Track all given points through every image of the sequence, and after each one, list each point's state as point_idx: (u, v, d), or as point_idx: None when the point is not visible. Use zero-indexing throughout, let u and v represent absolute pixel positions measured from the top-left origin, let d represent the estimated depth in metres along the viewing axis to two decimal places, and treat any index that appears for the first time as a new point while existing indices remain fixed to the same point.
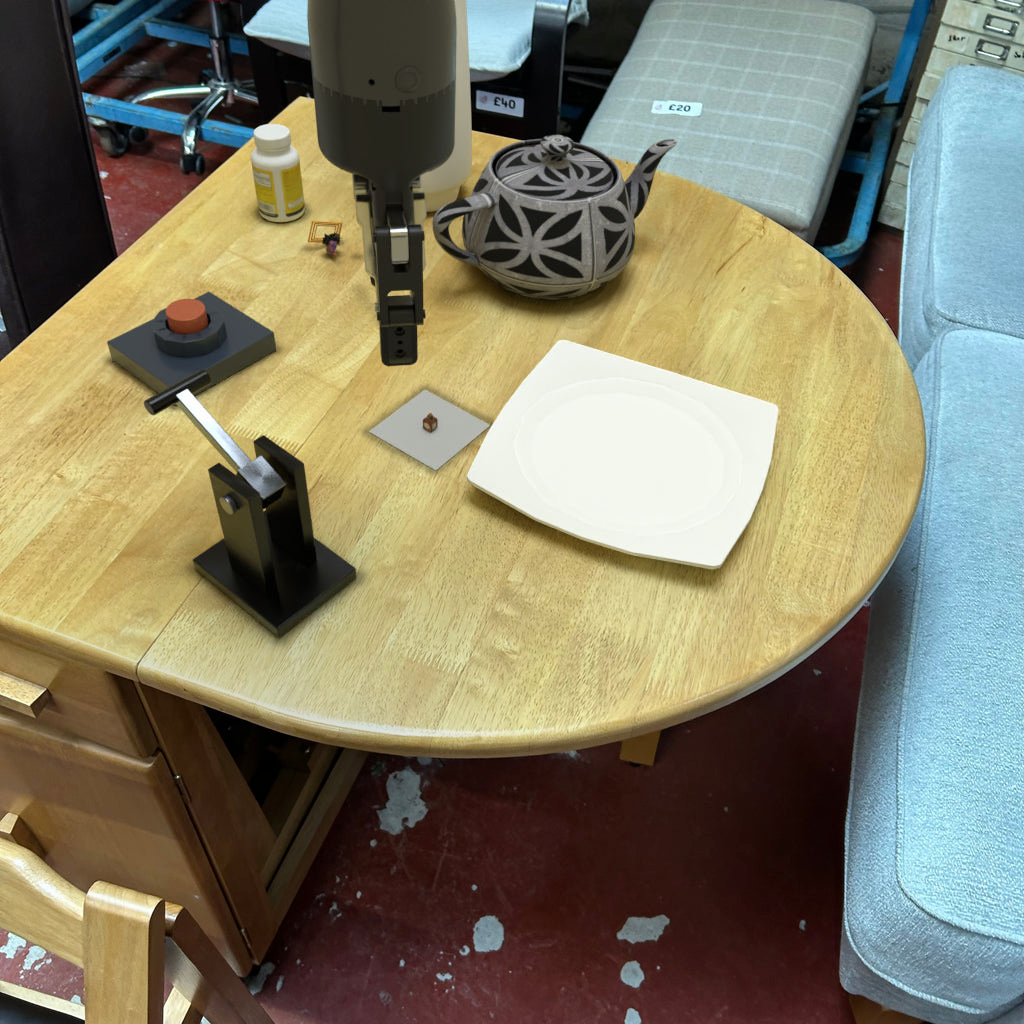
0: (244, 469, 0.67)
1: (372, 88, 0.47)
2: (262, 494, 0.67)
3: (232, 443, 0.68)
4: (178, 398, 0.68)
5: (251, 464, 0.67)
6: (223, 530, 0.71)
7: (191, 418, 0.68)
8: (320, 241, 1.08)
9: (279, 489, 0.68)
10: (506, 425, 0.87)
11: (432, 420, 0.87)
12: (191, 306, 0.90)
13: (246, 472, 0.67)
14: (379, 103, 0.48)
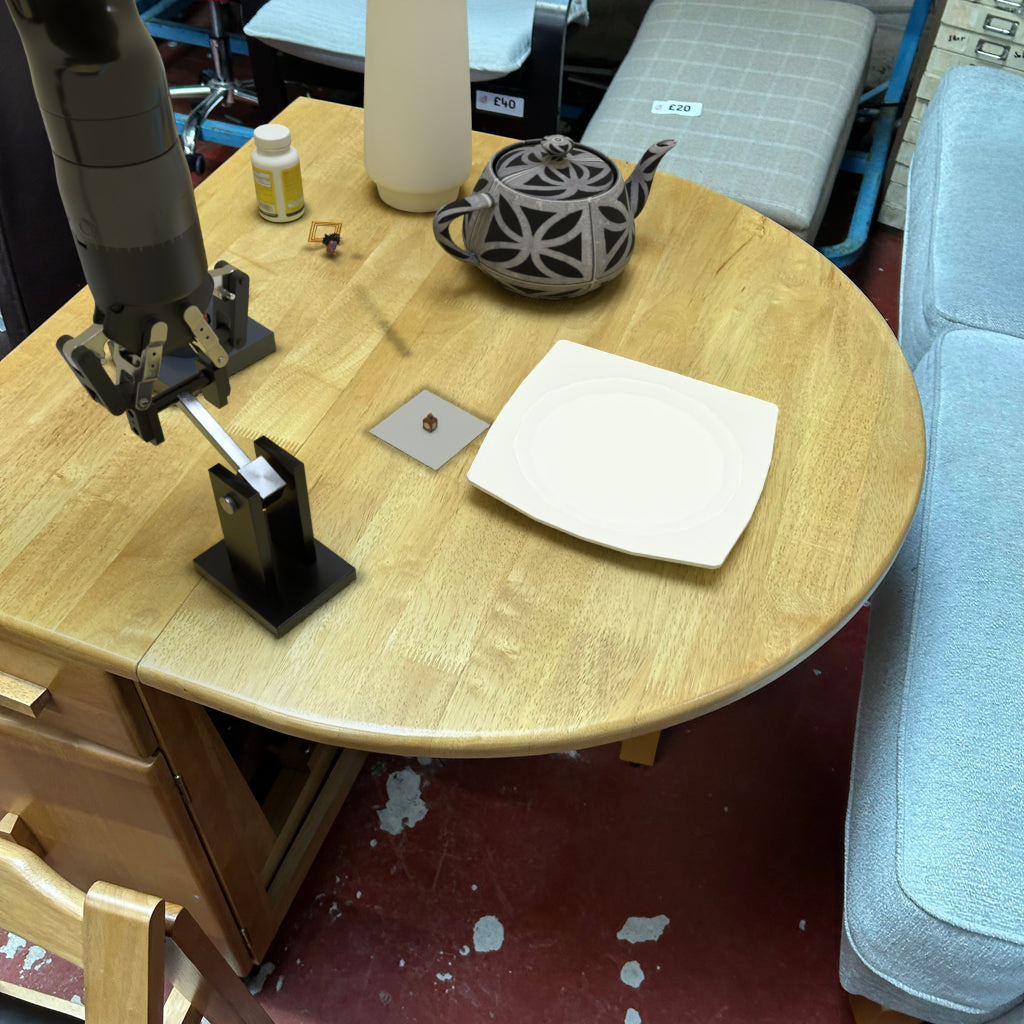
0: (244, 469, 0.67)
1: (70, 223, 0.57)
2: (262, 494, 0.67)
3: (232, 443, 0.68)
4: (178, 398, 0.68)
5: (251, 464, 0.67)
6: (223, 530, 0.71)
7: (191, 418, 0.68)
8: (320, 241, 1.08)
9: (279, 489, 0.68)
10: (506, 425, 0.87)
11: (432, 420, 0.87)
12: None
13: (246, 472, 0.67)
14: (75, 236, 0.57)
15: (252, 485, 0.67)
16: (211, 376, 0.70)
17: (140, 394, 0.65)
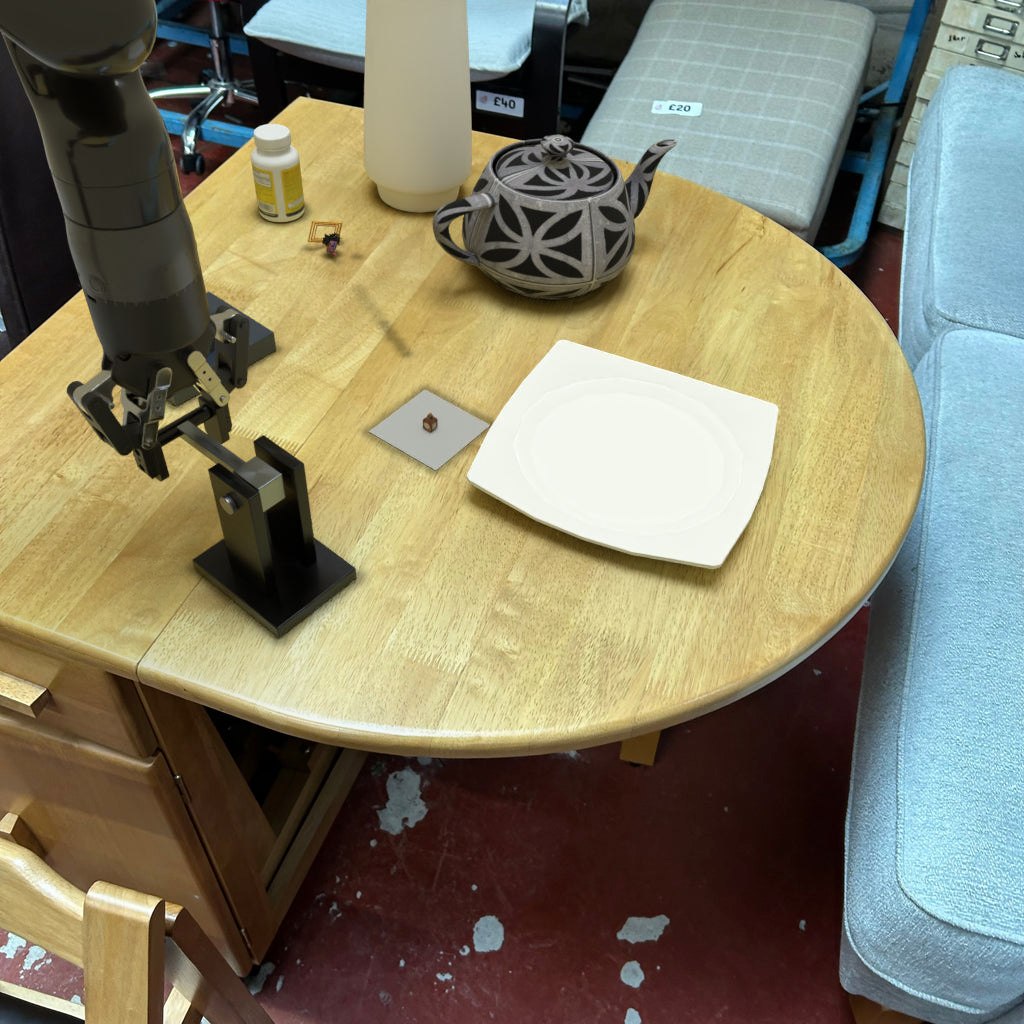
0: (239, 469, 0.67)
1: (80, 278, 0.60)
2: (257, 485, 0.66)
3: (230, 454, 0.69)
4: (179, 429, 0.71)
5: (246, 464, 0.68)
6: (223, 530, 0.71)
7: (193, 444, 0.71)
8: (320, 241, 1.08)
9: (275, 480, 0.67)
10: (506, 425, 0.87)
11: (432, 420, 0.87)
12: None
13: (241, 471, 0.67)
14: (85, 290, 0.60)
15: (247, 480, 0.67)
16: (213, 414, 0.73)
17: (146, 434, 0.68)
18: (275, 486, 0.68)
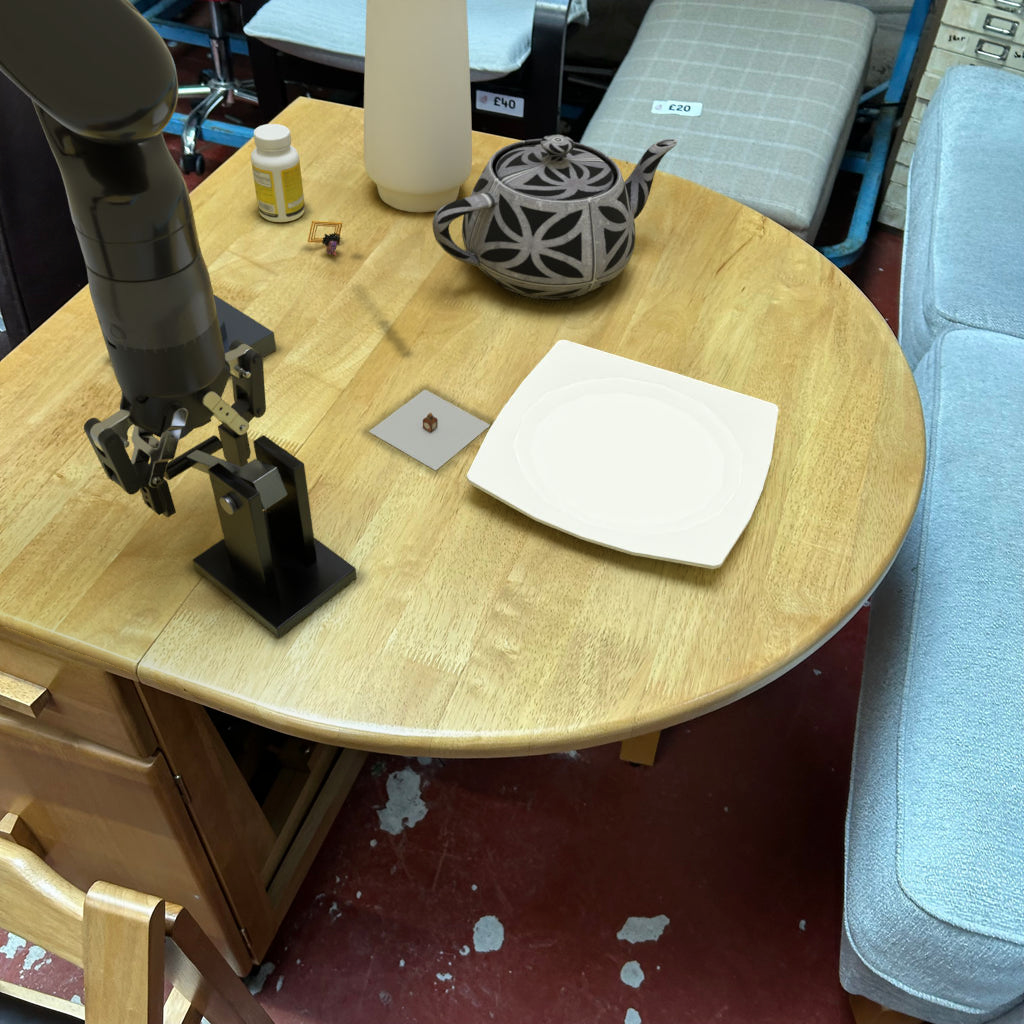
0: (237, 471, 0.68)
1: (101, 325, 0.62)
2: (253, 479, 0.66)
3: (233, 465, 0.70)
4: (188, 457, 0.73)
5: (244, 466, 0.68)
6: (223, 530, 0.71)
7: (201, 467, 0.72)
8: (320, 241, 1.08)
9: (271, 474, 0.67)
10: (506, 425, 0.87)
11: (432, 420, 0.87)
12: None
13: (239, 472, 0.68)
14: (105, 337, 0.62)
15: (244, 477, 0.67)
16: (233, 442, 0.75)
17: (153, 473, 0.69)
18: (272, 480, 0.67)
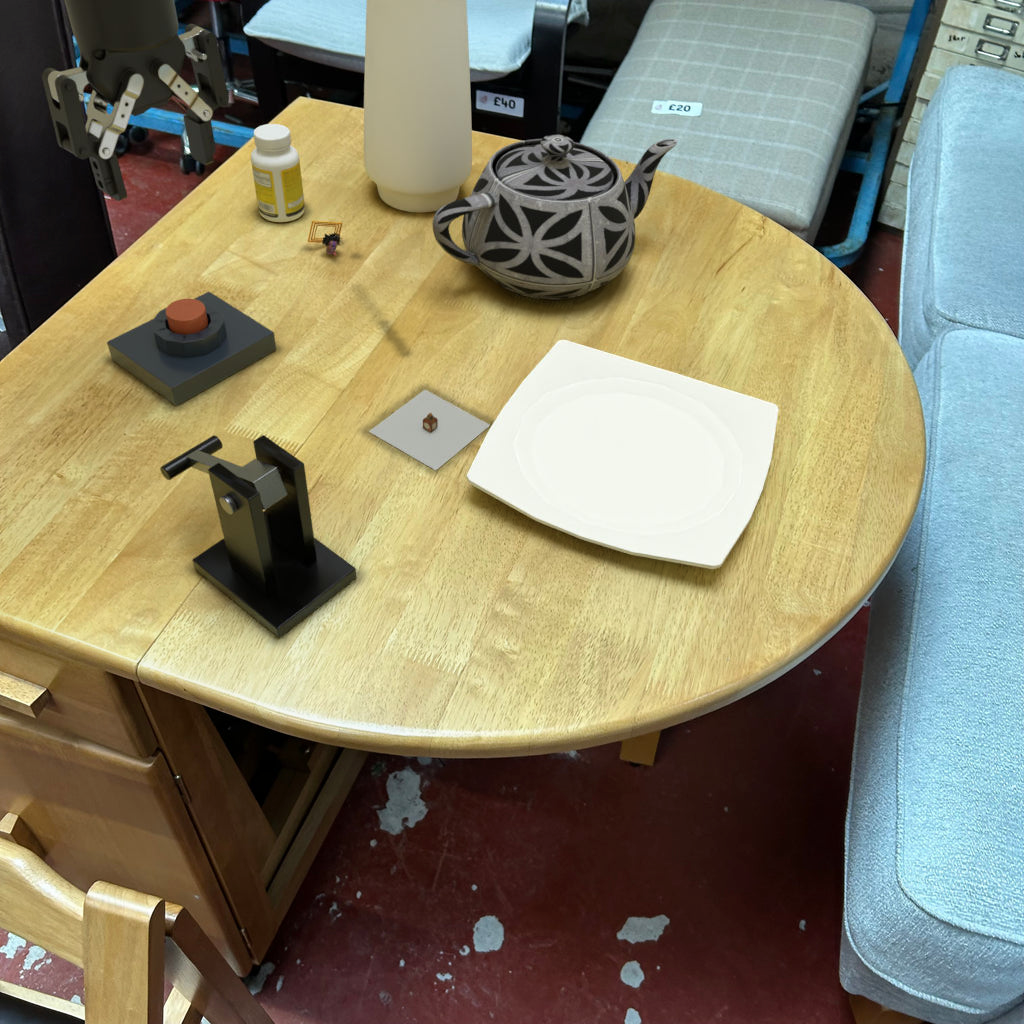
0: (237, 471, 0.68)
1: None
2: (253, 479, 0.66)
3: (233, 465, 0.70)
4: (188, 457, 0.73)
5: (244, 466, 0.68)
6: (223, 530, 0.71)
7: (201, 467, 0.72)
8: (320, 241, 1.08)
9: (271, 474, 0.67)
10: (506, 425, 0.87)
11: (432, 420, 0.87)
12: (191, 306, 0.90)
13: (239, 472, 0.68)
14: None
15: (244, 477, 0.67)
16: (197, 130, 0.79)
17: (102, 142, 0.73)
18: (272, 480, 0.67)
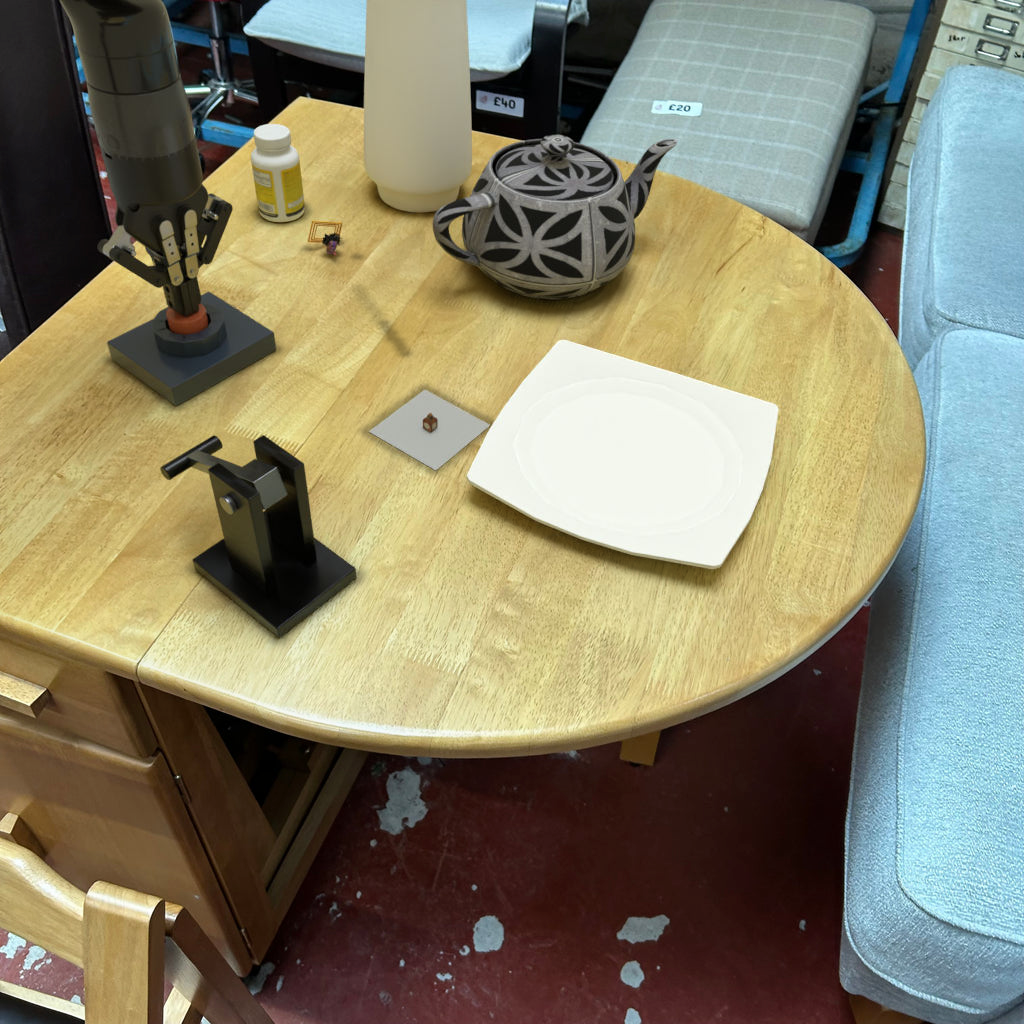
0: (237, 471, 0.68)
1: (99, 139, 0.76)
2: (253, 479, 0.66)
3: (233, 465, 0.70)
4: (188, 457, 0.73)
5: (244, 466, 0.68)
6: (223, 530, 0.71)
7: (201, 467, 0.72)
8: (320, 241, 1.08)
9: (271, 474, 0.67)
10: (506, 425, 0.87)
11: (432, 420, 0.87)
12: None
13: (239, 472, 0.68)
14: (103, 150, 0.76)
15: (244, 477, 0.67)
16: None
17: (175, 272, 0.85)
18: (272, 480, 0.67)
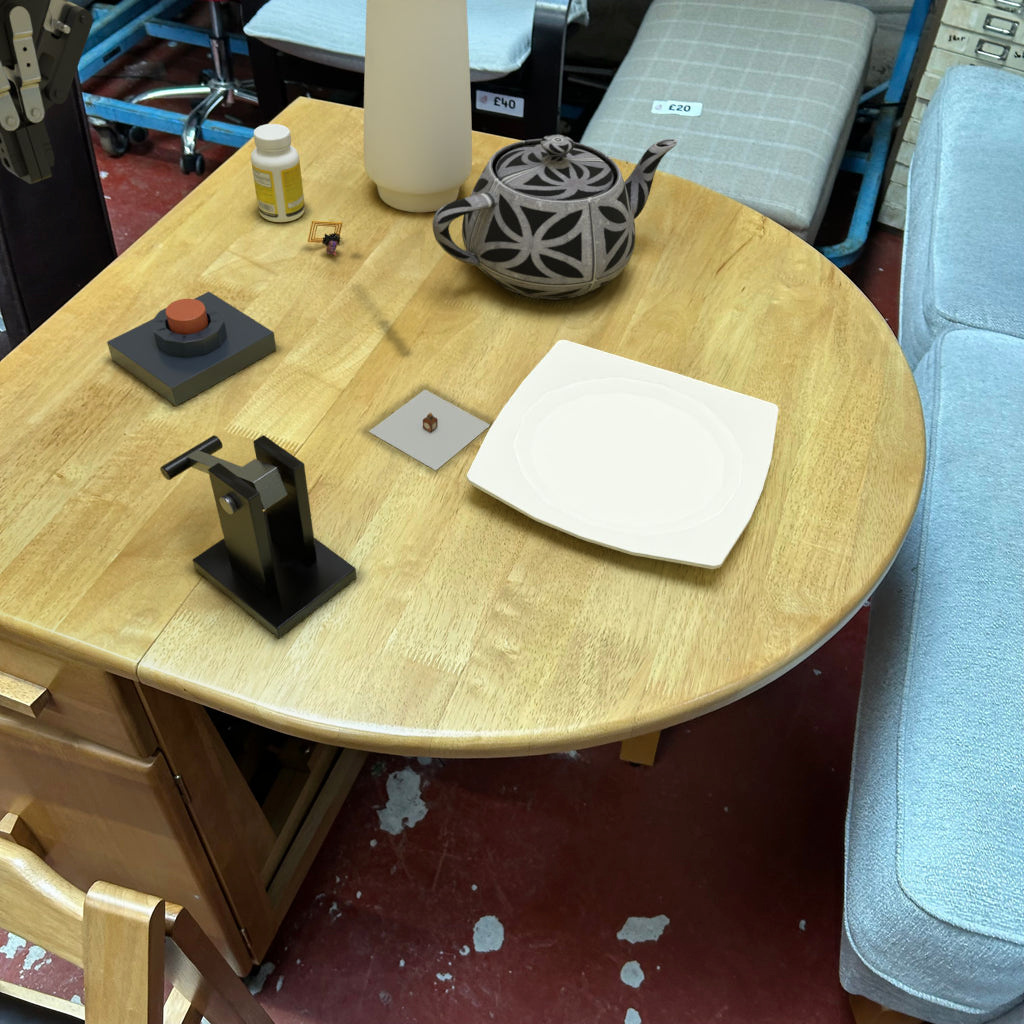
0: (237, 471, 0.68)
1: None
2: (253, 479, 0.66)
3: (233, 465, 0.70)
4: (188, 457, 0.73)
5: (244, 466, 0.68)
6: (223, 530, 0.71)
7: (201, 467, 0.72)
8: (320, 241, 1.08)
9: (271, 474, 0.67)
10: (506, 425, 0.87)
11: (432, 420, 0.87)
12: (191, 306, 0.90)
13: (239, 472, 0.68)
14: None
15: (244, 477, 0.67)
16: None
17: (5, 108, 0.58)
18: (272, 480, 0.67)
